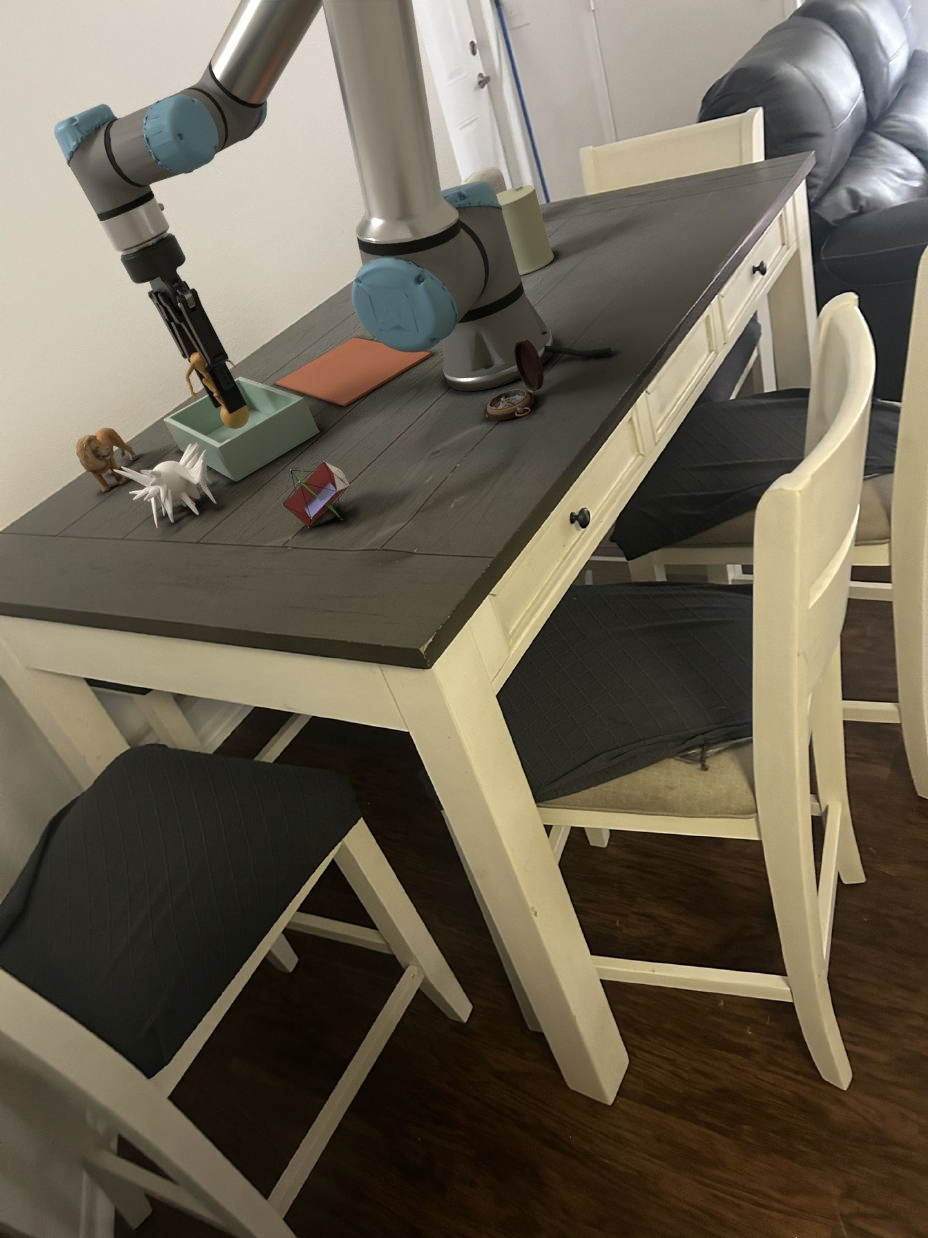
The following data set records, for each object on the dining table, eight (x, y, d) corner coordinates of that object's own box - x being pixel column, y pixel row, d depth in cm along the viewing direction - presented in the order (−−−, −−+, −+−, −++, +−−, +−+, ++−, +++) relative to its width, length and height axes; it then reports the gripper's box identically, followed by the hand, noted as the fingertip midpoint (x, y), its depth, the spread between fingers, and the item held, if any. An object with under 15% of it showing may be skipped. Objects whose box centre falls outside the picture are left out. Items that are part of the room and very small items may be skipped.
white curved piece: (505, 228, 181) (486, 161, 174) (521, 226, 178) (502, 159, 171) (469, 250, 177) (449, 183, 170) (485, 249, 173) (464, 181, 167)
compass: (478, 414, 115) (459, 360, 111) (533, 386, 116) (516, 332, 112) (504, 432, 109) (486, 375, 104) (562, 403, 110) (546, 345, 106)
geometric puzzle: (284, 535, 101) (300, 465, 98) (271, 512, 107) (285, 446, 104) (346, 543, 104) (363, 475, 101) (330, 521, 110) (346, 456, 107)
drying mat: (431, 355, 138) (430, 352, 137) (344, 406, 132) (343, 404, 132) (355, 339, 156) (354, 337, 156) (276, 384, 150) (275, 382, 150)
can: (563, 250, 157) (544, 177, 150) (538, 273, 152) (517, 198, 145) (517, 257, 163) (497, 187, 156) (492, 279, 157) (470, 207, 150)
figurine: (229, 446, 131) (197, 373, 122) (200, 436, 134) (167, 364, 125) (268, 412, 135) (239, 339, 126) (239, 403, 138) (209, 332, 129)
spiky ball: (229, 520, 117) (205, 460, 112) (136, 550, 116) (107, 491, 111) (223, 485, 126) (200, 428, 121) (137, 512, 125) (111, 457, 120)
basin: (319, 432, 128) (303, 397, 125) (236, 482, 123) (218, 447, 120) (255, 407, 145) (240, 376, 142) (180, 450, 140) (163, 419, 137)
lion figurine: (132, 489, 134) (99, 434, 129) (98, 503, 134) (63, 449, 129) (139, 451, 146) (109, 400, 141) (108, 464, 146) (77, 413, 141)
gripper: (194, 229, 112) (278, 401, 125) (149, 230, 126) (229, 385, 139) (139, 256, 110) (231, 429, 123) (100, 254, 123) (186, 409, 136)
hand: (230, 405), depth 131 cm, fingers open, 5 cm apart
